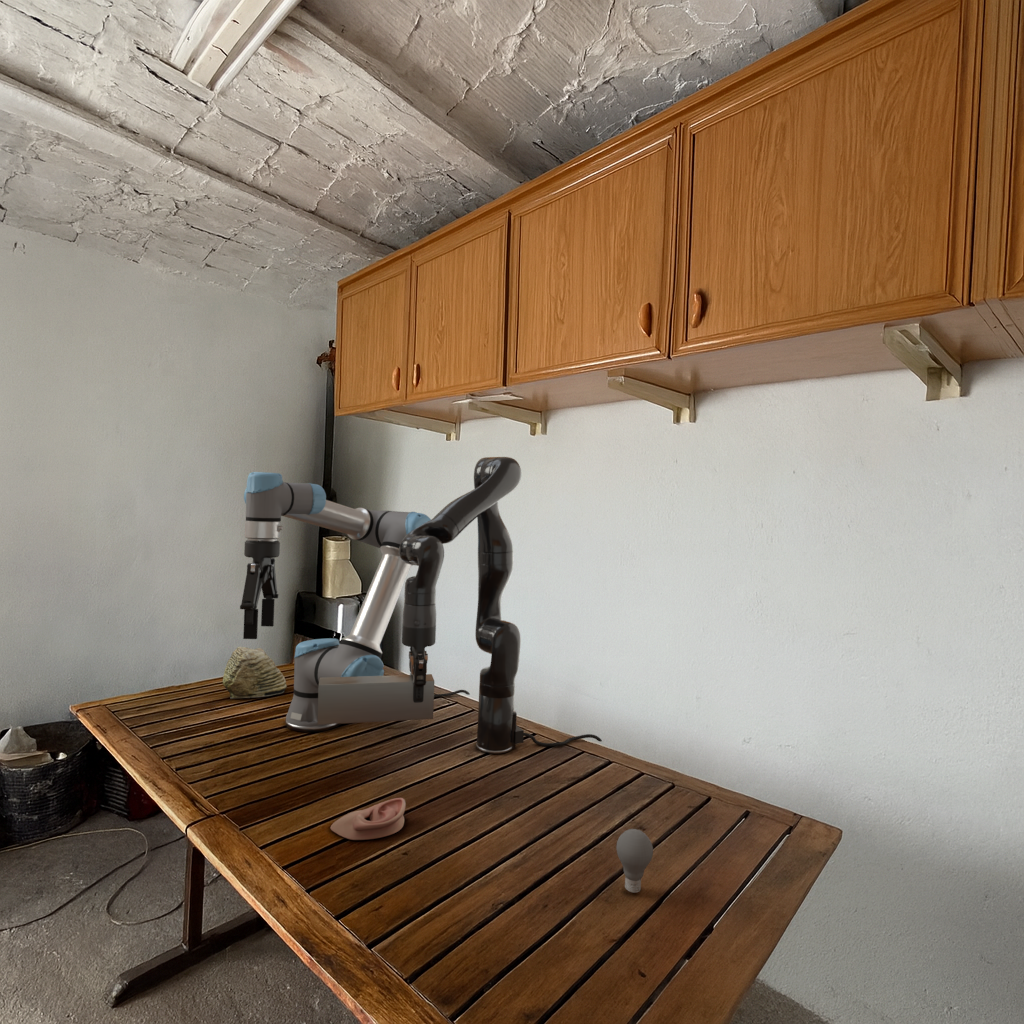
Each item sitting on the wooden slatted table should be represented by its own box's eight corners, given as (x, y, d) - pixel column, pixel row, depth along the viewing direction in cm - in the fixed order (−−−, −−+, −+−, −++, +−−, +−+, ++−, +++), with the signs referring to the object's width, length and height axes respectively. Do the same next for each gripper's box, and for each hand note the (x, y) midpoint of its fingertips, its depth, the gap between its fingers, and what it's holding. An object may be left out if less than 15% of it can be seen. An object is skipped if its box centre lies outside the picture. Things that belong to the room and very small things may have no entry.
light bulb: (610, 879, 108) (613, 822, 108) (644, 879, 109) (647, 822, 109) (619, 902, 102) (622, 840, 102) (655, 901, 103) (658, 840, 103)
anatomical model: (323, 814, 118) (350, 787, 130) (322, 835, 118) (350, 806, 130) (389, 824, 116) (412, 796, 127) (389, 846, 116) (411, 816, 127)
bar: (317, 724, 135) (318, 684, 135) (318, 716, 141) (320, 677, 140) (433, 719, 141) (434, 680, 141) (430, 710, 146) (431, 674, 146)
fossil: (218, 695, 195) (220, 647, 195) (278, 685, 208) (279, 640, 207) (228, 703, 189) (230, 653, 188) (289, 692, 201) (290, 645, 201)
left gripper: (264, 544, 133) (260, 645, 133) (292, 536, 158) (289, 621, 158) (227, 543, 132) (223, 644, 132) (261, 535, 157) (257, 621, 157)
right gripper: (439, 629, 136) (437, 707, 137) (432, 616, 150) (430, 687, 151) (404, 630, 135) (402, 709, 135) (400, 617, 149) (398, 688, 149)
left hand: (259, 632), depth 145 cm, fingers open, 13 cm apart
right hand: (416, 697), depth 143 cm, fingers closed on bar, 5 cm apart
